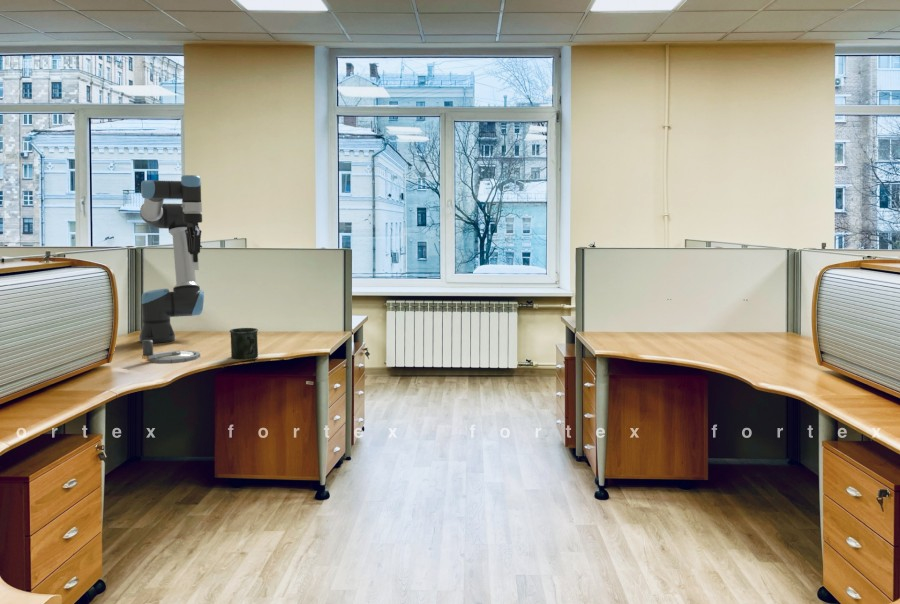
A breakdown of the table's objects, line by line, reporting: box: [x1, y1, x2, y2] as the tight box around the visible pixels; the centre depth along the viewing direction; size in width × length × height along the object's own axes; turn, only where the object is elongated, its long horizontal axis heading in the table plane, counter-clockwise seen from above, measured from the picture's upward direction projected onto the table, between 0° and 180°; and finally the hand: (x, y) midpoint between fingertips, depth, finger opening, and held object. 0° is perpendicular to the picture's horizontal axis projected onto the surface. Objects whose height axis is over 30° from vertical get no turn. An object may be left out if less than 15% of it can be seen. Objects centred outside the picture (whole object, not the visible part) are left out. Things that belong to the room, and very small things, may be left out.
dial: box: [141, 340, 194, 360], centre depth 275 cm, size 20×14×8 cm
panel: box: [140, 350, 201, 364], centre depth 278 cm, size 26×26×2 cm
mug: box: [228, 327, 259, 363], centre depth 278 cm, size 11×15×12 cm
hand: (194, 269), depth 297 cm, fingers closed
